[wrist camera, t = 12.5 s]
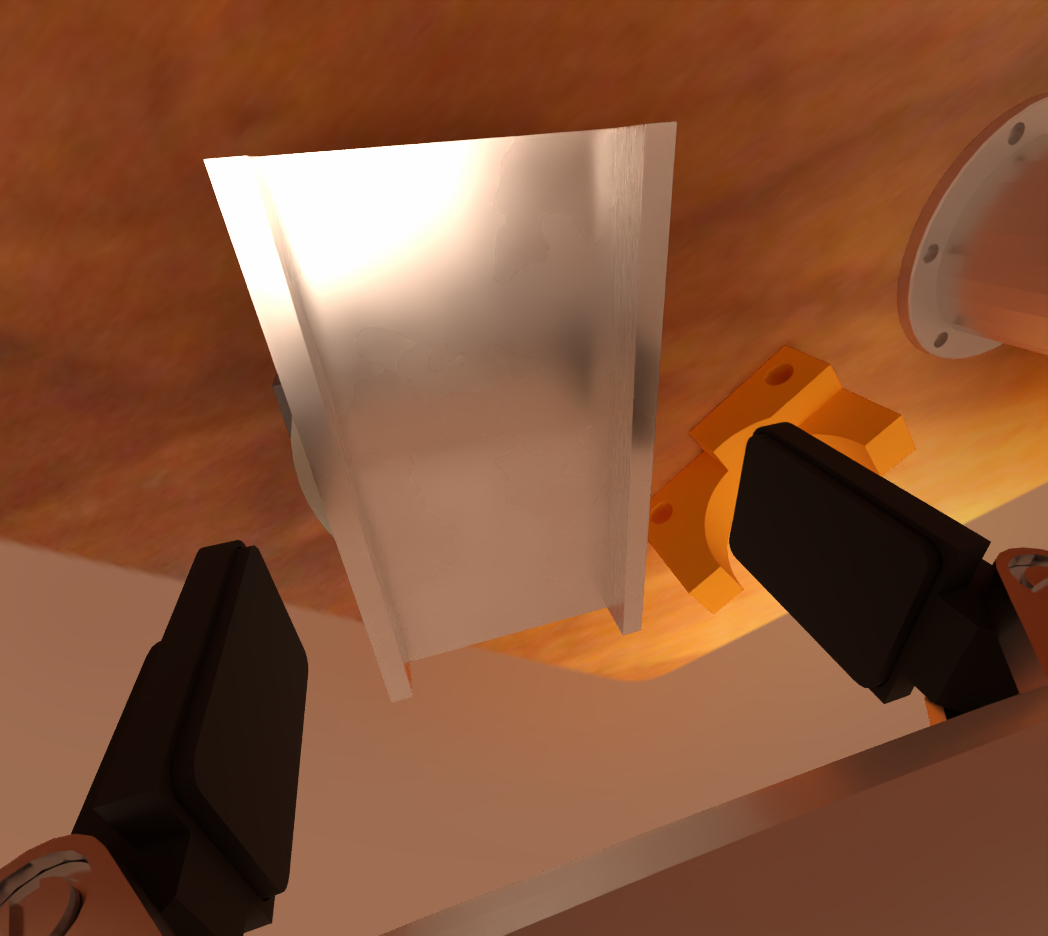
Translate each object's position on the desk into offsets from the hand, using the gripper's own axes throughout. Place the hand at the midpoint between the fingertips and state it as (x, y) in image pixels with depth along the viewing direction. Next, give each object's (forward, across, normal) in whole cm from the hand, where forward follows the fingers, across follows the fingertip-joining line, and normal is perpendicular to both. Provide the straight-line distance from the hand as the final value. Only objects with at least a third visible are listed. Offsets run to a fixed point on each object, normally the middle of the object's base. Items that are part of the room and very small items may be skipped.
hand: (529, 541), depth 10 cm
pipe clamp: (+14, -14, +9) cm, 22 cm away
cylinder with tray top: (+14, 0, 0) cm, 14 cm away
